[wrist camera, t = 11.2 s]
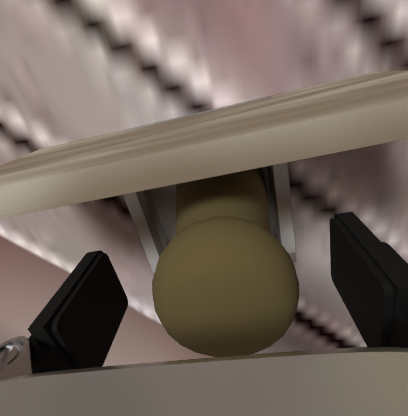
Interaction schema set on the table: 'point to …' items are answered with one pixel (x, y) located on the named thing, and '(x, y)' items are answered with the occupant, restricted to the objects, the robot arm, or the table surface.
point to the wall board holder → (210, 154)
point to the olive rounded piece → (225, 269)
